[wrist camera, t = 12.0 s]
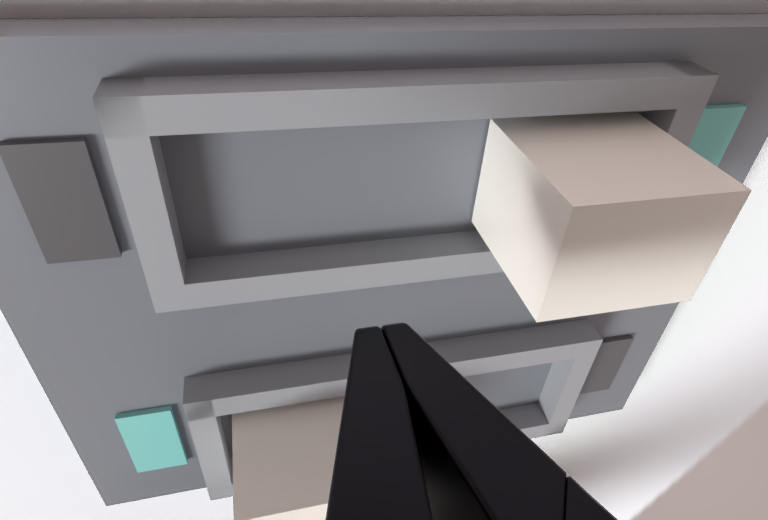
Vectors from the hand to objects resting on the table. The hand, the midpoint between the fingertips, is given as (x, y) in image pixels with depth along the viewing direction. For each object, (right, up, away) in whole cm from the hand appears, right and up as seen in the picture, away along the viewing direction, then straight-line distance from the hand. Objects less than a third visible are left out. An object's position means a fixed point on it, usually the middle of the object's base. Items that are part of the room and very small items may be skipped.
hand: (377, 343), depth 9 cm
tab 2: (+5, +4, +6) cm, 8 cm away
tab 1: (-3, -4, +10) cm, 11 cm away
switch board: (+1, +1, +9) cm, 9 cm away
